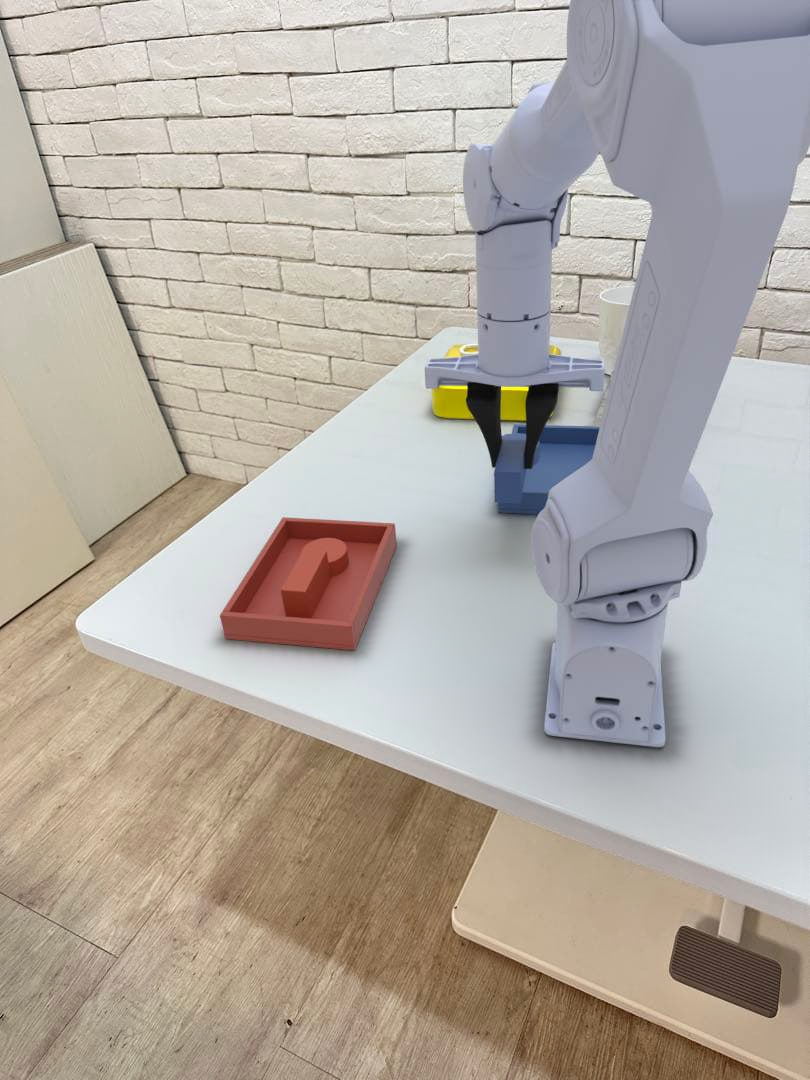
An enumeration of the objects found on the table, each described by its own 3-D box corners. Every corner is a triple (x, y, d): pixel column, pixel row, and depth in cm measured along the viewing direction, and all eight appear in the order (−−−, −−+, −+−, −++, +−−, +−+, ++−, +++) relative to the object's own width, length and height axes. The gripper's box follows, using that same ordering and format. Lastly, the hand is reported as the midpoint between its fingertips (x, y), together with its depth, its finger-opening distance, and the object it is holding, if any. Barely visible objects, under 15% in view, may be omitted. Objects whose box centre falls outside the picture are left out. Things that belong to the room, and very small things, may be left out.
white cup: (663, 362, 109) (671, 288, 103) (644, 383, 103) (651, 306, 98) (607, 355, 112) (612, 283, 107) (586, 374, 107) (590, 300, 102)
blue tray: (613, 518, 77) (615, 496, 76) (497, 512, 79) (497, 491, 78) (613, 447, 89) (615, 426, 88) (513, 443, 92) (513, 424, 90)
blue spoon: (532, 504, 67) (533, 472, 65) (482, 502, 68) (482, 471, 66) (541, 448, 75) (541, 419, 73) (496, 447, 76) (496, 418, 74)
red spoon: (321, 621, 66) (317, 592, 65) (274, 617, 67) (268, 588, 66) (354, 553, 74) (350, 526, 73) (311, 550, 75) (307, 523, 74)
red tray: (354, 650, 64) (351, 626, 62) (225, 639, 66) (219, 615, 65) (397, 545, 76) (395, 523, 75) (286, 538, 78) (282, 517, 77)
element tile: (429, 418, 99) (427, 382, 96) (452, 373, 111) (450, 339, 108) (551, 423, 95) (552, 385, 93) (561, 375, 108) (562, 340, 105)
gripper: (608, 293, 64) (598, 444, 72) (432, 295, 67) (439, 440, 75) (608, 322, 59) (597, 483, 66) (415, 323, 62) (426, 476, 69)
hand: (513, 463), depth 70 cm, fingers closed on blue spoon, 2 cm apart
